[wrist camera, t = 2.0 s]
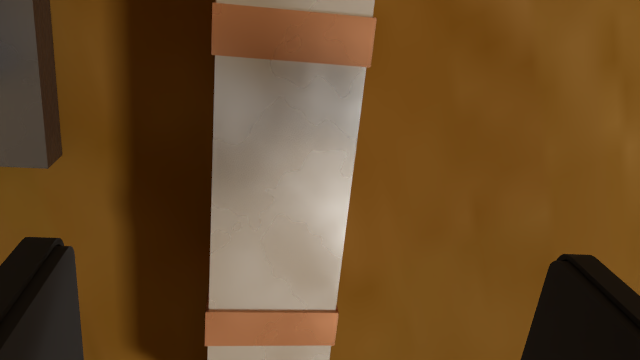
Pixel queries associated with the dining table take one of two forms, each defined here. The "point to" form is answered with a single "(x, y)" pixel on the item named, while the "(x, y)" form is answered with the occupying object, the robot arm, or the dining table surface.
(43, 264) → the robot arm
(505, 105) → the dining table surface
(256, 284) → the white and orange bar
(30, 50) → the grey stand
